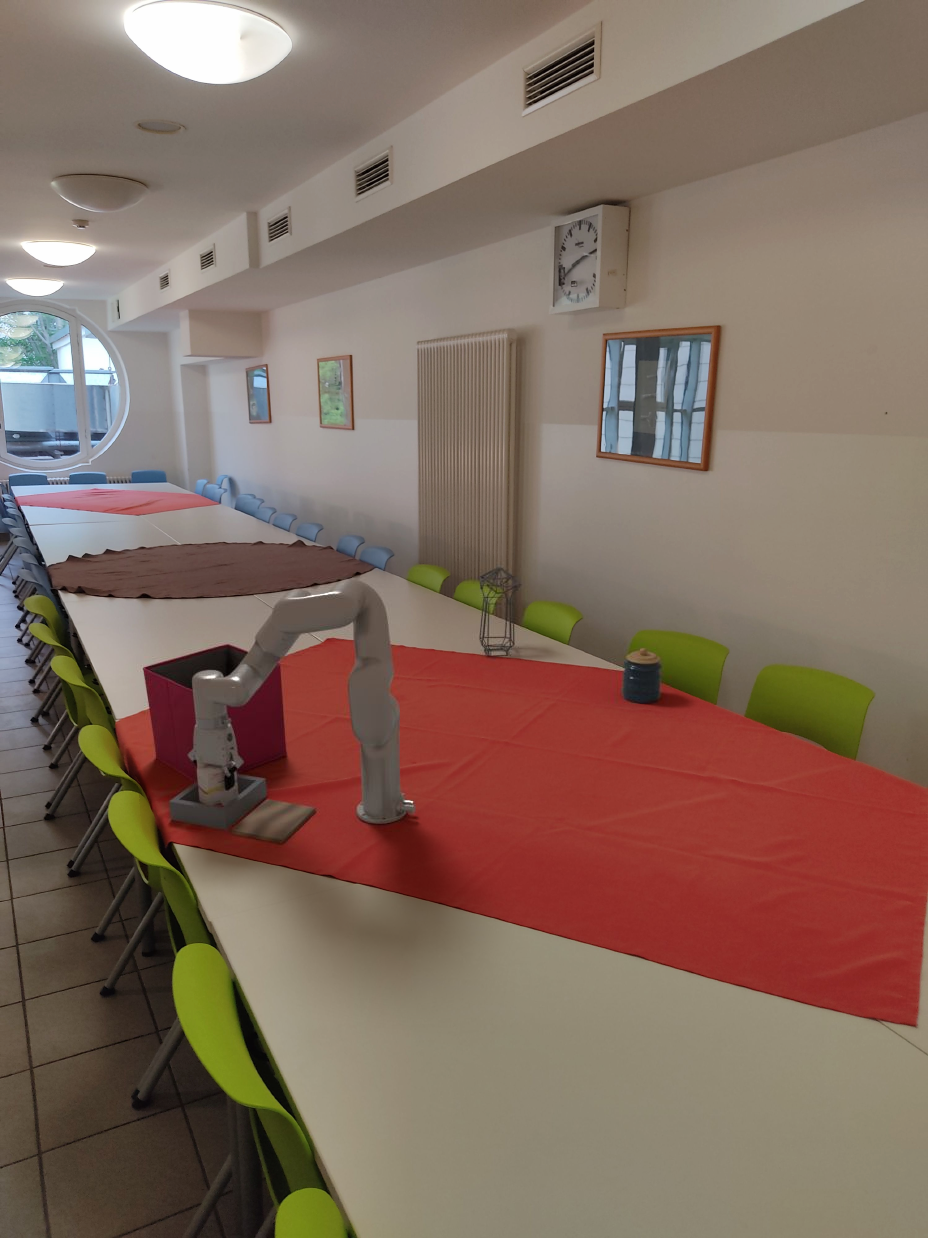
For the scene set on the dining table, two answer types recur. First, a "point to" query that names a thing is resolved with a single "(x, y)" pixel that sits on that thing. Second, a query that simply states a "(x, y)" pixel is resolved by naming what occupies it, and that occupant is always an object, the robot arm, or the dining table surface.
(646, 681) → the canister
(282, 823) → the walnut mat
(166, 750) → the storage bin
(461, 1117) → the dining table surface
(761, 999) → the dining table surface
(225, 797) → the ink cartridge box
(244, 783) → the gray rectangular frame
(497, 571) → the geometric lantern
